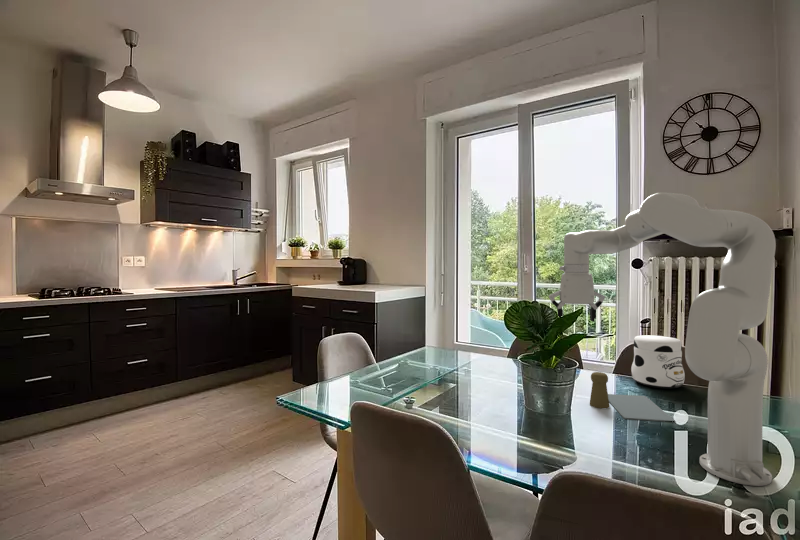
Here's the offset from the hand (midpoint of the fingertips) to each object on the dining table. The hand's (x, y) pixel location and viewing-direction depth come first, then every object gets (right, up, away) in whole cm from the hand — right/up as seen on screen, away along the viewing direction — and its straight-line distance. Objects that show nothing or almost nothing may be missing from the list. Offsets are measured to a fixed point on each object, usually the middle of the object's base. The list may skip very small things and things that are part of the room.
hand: (576, 320), depth 130 cm
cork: (+8, -29, +1) cm, 30 cm away
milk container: (+41, -28, +21) cm, 54 cm away
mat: (+19, -29, -1) cm, 34 cm away
